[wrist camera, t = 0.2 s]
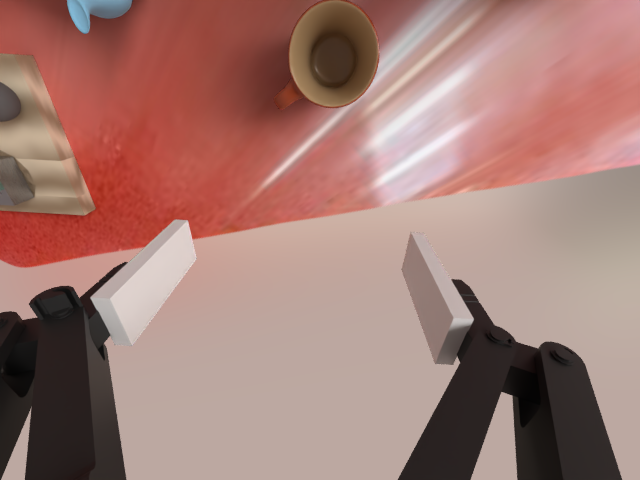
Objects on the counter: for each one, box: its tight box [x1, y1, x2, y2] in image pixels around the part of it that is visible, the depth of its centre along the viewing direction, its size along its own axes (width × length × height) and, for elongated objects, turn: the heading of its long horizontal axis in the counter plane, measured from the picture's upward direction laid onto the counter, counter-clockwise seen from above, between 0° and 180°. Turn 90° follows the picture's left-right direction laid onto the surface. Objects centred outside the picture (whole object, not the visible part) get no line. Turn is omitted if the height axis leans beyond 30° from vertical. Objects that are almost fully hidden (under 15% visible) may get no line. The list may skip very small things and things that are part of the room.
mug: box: [274, 0, 379, 110], centre depth 31 cm, size 12×9×10 cm
